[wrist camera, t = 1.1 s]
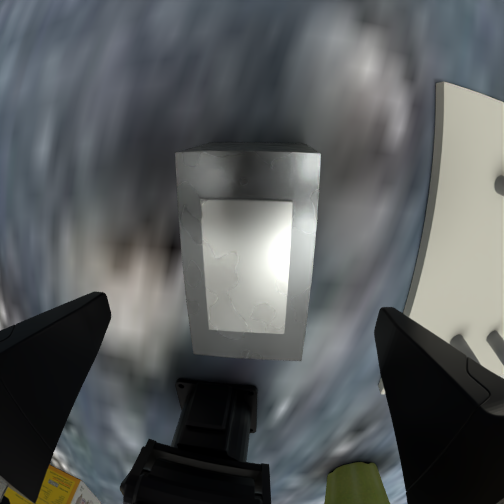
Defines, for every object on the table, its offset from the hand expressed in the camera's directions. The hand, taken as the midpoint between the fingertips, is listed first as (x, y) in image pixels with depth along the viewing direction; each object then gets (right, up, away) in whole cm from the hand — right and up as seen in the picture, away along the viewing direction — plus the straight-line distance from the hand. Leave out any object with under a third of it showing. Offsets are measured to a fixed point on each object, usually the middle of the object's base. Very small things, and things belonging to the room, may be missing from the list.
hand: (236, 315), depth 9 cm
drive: (+1, +4, +8) cm, 9 cm away
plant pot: (+13, -24, +19) cm, 33 cm away
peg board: (+18, +1, +7) cm, 19 cm away
